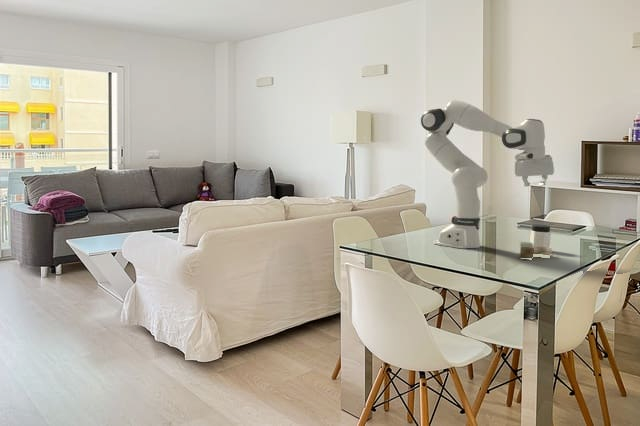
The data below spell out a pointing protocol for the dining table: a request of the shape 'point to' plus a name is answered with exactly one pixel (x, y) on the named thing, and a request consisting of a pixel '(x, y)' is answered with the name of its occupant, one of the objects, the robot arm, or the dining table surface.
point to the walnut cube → (526, 252)
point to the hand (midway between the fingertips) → (535, 185)
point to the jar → (540, 235)
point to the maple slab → (542, 250)
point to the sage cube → (525, 245)
